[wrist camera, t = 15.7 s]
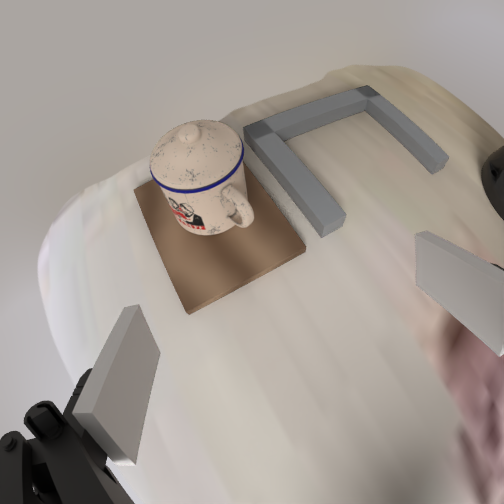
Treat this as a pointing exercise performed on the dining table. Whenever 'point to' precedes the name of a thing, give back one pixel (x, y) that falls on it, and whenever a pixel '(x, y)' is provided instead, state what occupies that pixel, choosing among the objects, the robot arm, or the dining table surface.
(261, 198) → the walnut board
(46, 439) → the robot arm
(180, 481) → the dining table surface
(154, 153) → the teacup with lid
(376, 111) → the cup dock
